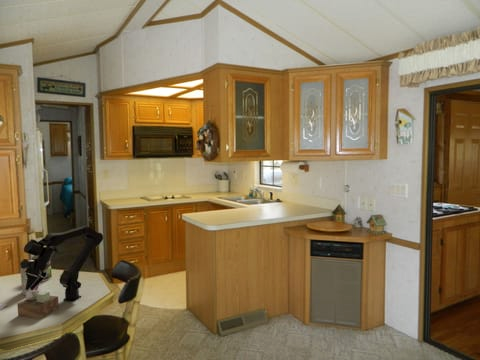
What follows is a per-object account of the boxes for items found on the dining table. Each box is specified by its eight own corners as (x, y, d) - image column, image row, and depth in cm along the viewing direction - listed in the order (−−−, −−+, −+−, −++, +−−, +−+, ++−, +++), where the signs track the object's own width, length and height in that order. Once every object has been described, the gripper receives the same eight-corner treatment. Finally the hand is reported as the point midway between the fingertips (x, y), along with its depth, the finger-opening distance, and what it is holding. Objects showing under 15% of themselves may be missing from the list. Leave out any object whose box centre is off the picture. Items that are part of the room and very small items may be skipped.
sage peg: (43, 302, 186) (42, 290, 185) (50, 303, 185) (49, 291, 184) (37, 305, 182) (36, 294, 182) (43, 306, 181) (43, 294, 180)
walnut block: (37, 305, 192) (37, 293, 192) (58, 308, 189) (58, 296, 188) (18, 315, 181) (17, 303, 180) (39, 318, 177) (39, 306, 177)
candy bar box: (29, 288, 216) (27, 260, 214) (38, 287, 216) (37, 259, 215) (21, 295, 205) (19, 266, 203) (31, 295, 205) (29, 265, 204)
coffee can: (55, 277, 232) (54, 255, 230) (38, 283, 223) (37, 260, 222) (46, 274, 237) (44, 253, 236) (29, 279, 229) (28, 257, 227)
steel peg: (33, 300, 188) (32, 289, 187) (39, 301, 187) (38, 290, 186) (26, 304, 184) (25, 292, 183) (33, 304, 183) (32, 293, 182)
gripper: (31, 255, 193) (17, 285, 188) (22, 251, 176) (5, 284, 170) (53, 261, 195) (39, 291, 190) (46, 258, 178) (30, 291, 172)
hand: (28, 290), depth 180 cm, fingers open, 9 cm apart
